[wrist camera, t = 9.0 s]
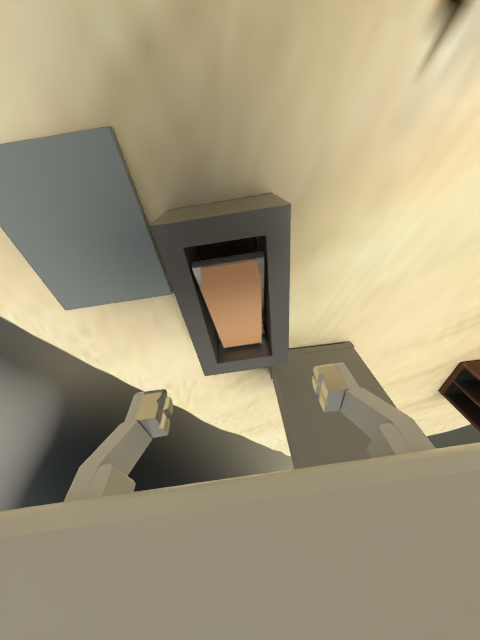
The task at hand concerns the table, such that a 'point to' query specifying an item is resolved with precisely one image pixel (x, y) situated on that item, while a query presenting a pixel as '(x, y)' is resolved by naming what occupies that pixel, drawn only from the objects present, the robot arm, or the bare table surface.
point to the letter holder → (465, 391)
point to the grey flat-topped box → (307, 414)
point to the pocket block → (178, 254)
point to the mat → (79, 219)
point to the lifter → (233, 260)
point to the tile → (234, 302)
